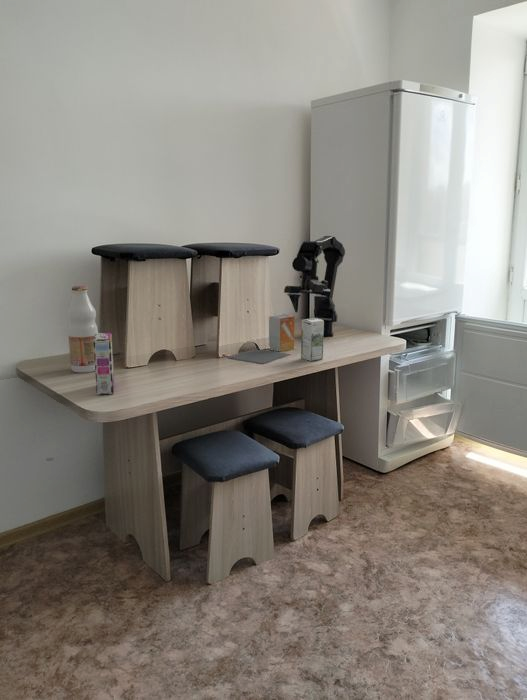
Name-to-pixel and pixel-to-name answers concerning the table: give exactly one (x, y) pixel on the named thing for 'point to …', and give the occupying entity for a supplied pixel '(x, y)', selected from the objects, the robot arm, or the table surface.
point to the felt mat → (259, 356)
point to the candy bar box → (104, 363)
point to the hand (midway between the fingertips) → (306, 312)
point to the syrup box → (312, 339)
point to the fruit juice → (81, 331)
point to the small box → (281, 332)
